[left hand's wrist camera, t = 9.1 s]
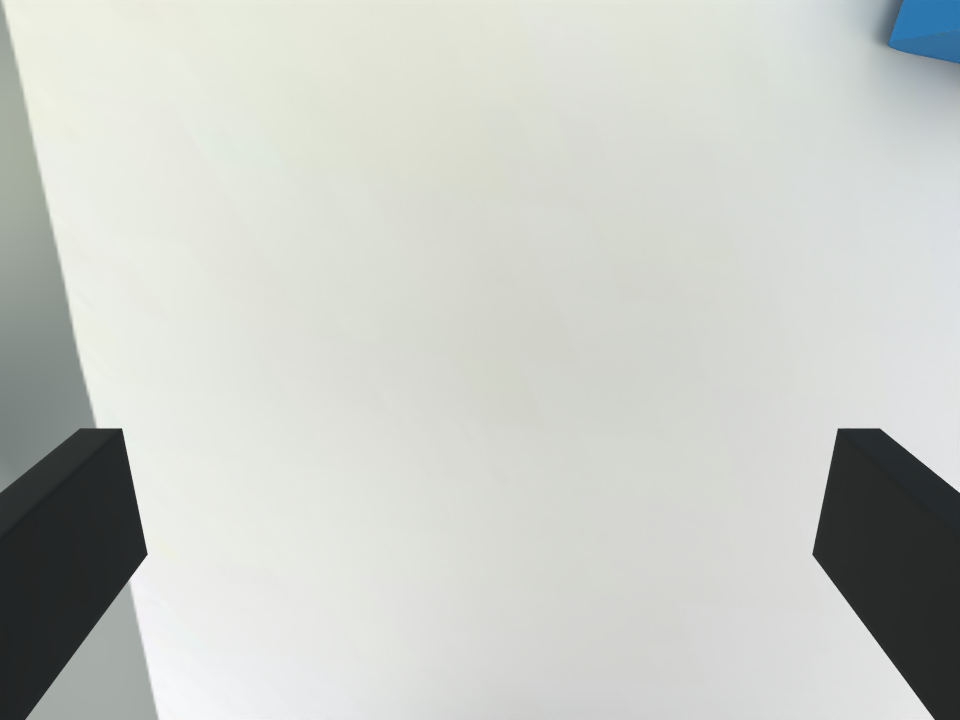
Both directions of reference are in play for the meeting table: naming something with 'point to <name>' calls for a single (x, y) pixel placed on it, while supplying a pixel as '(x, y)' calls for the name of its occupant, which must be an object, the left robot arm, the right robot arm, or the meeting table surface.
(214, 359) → the meeting table surface
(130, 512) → the left robot arm
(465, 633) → the meeting table surface
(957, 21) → the logo
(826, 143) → the meeting table surface
